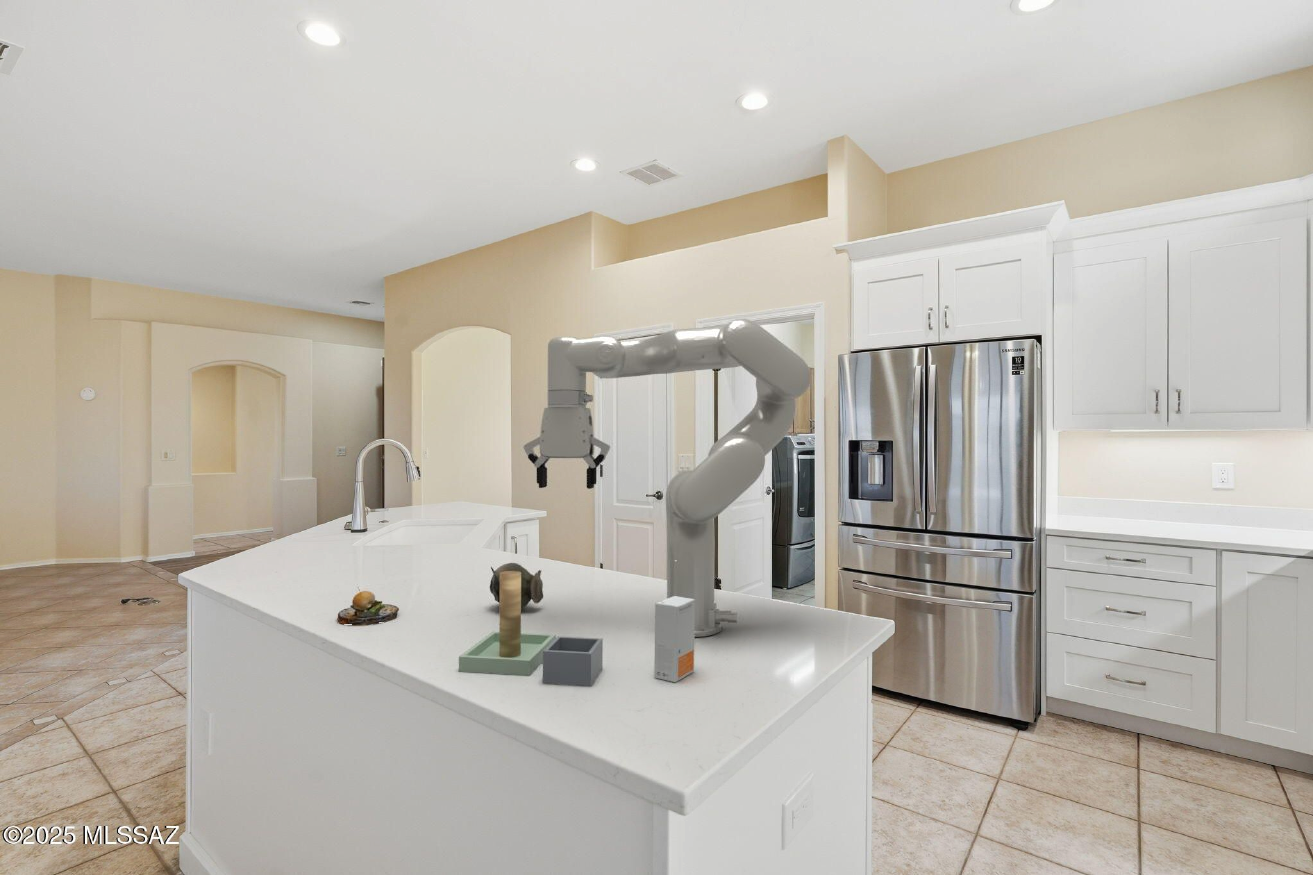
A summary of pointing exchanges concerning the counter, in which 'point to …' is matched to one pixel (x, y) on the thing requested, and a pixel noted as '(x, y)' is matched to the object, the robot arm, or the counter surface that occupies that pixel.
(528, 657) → the tray
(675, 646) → the skincare box
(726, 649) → the counter surface
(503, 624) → the dowel
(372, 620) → the plate of food
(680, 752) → the counter surface
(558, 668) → the open box
